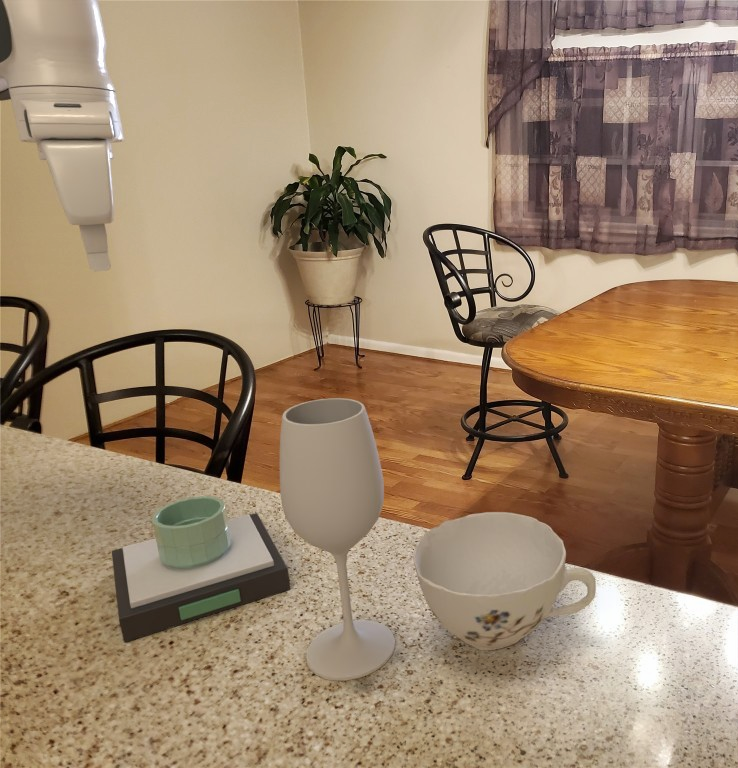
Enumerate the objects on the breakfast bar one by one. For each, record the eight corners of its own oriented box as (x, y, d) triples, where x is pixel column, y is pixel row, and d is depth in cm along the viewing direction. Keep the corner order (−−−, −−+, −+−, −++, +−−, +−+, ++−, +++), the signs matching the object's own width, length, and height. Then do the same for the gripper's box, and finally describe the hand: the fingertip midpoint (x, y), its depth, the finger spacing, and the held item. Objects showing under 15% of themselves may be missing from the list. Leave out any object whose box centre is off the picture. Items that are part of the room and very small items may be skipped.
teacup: (396, 669, 54) (388, 582, 52) (445, 580, 66) (440, 505, 64) (585, 696, 51) (586, 604, 49) (601, 597, 63) (603, 519, 60)
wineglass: (283, 668, 55) (246, 422, 48) (340, 613, 61) (314, 390, 55) (363, 692, 52) (335, 435, 46) (414, 632, 59) (395, 400, 52)
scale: (124, 645, 58) (117, 614, 57) (116, 571, 69) (110, 545, 68) (291, 591, 65) (287, 563, 64) (260, 532, 76) (256, 507, 75)
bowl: (164, 578, 62) (155, 534, 61) (157, 548, 67) (149, 507, 66) (237, 558, 65) (230, 515, 64) (225, 530, 70) (218, 490, 69)
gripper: (36, 129, 74) (64, 258, 78) (26, 115, 57) (62, 279, 62) (103, 129, 77) (126, 253, 81) (112, 116, 61) (141, 273, 65)
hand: (99, 265), depth 71 cm, fingers open, 8 cm apart
